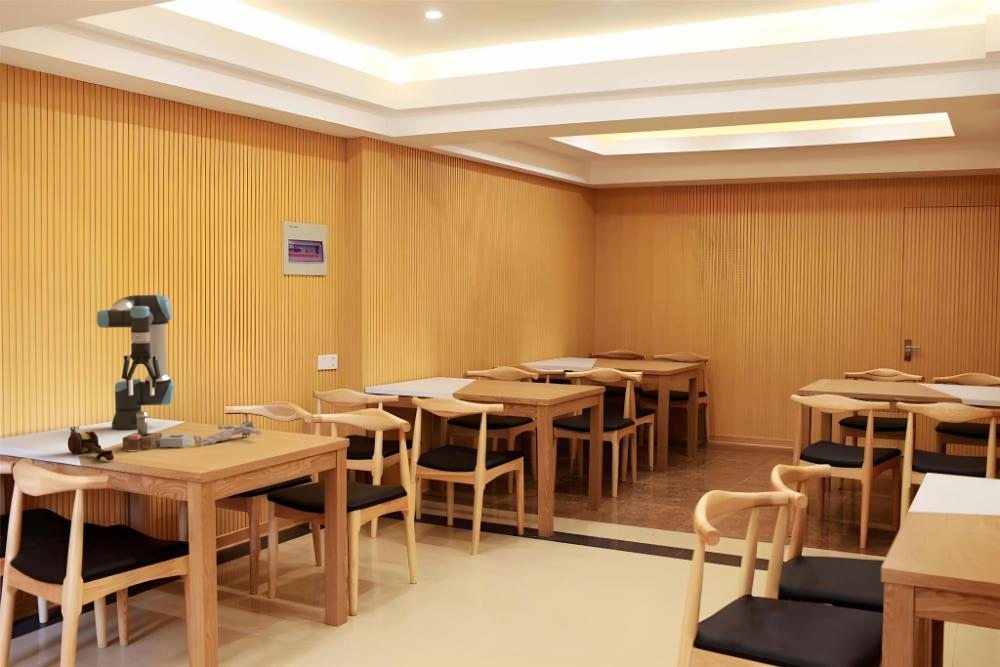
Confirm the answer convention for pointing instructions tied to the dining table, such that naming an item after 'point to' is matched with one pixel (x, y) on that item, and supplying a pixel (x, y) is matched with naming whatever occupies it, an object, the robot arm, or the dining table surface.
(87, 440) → the gavel
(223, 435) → the toy
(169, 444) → the grey square frame
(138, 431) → the peg
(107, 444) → the dining table surface
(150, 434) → the socket block
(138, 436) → the key
